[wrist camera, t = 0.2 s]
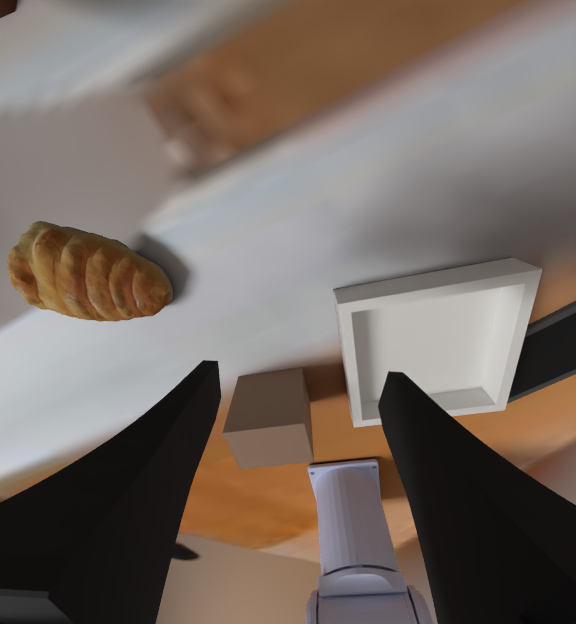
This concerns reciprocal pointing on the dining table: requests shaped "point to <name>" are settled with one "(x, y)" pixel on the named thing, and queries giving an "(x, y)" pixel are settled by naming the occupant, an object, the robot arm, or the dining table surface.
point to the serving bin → (437, 335)
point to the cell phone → (546, 353)
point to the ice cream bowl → (7, 7)
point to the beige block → (270, 420)
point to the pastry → (85, 275)
